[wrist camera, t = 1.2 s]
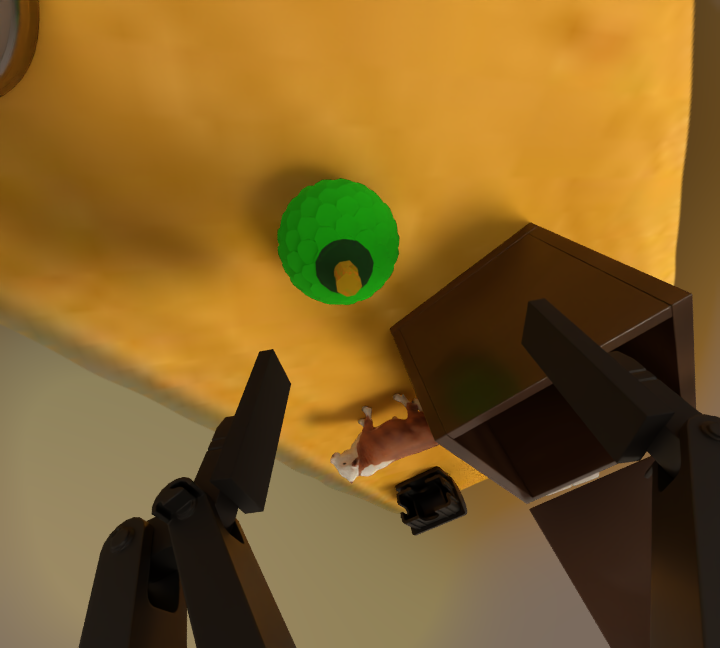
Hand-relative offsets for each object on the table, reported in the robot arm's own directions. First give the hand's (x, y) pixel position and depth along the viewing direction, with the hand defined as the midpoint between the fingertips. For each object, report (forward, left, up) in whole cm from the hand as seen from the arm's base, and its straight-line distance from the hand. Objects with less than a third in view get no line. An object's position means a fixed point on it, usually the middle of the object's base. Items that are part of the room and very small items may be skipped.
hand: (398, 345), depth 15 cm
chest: (+17, +5, -12) cm, 22 cm away
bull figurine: (+17, -12, -12) cm, 24 cm away
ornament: (-4, 0, -12) cm, 13 cm away
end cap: (+41, -20, -12) cm, 48 cm away
